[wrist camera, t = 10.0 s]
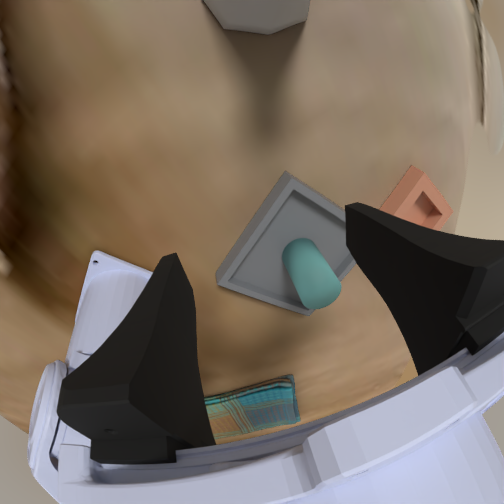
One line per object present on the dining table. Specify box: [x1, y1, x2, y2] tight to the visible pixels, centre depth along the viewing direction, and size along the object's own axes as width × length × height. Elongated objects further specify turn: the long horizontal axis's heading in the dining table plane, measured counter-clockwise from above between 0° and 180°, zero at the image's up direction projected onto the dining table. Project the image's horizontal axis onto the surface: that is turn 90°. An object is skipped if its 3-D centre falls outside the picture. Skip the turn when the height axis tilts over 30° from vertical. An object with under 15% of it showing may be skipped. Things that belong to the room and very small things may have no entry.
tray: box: [216, 171, 356, 316], centre depth 23 cm, size 10×10×2 cm
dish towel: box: [204, 375, 300, 439], centre depth 39 cm, size 17×23×2 cm
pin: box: [282, 238, 341, 309], centre depth 21 cm, size 3×3×5 cm
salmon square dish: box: [379, 165, 453, 231], centre depth 23 cm, size 7×7×2 cm
